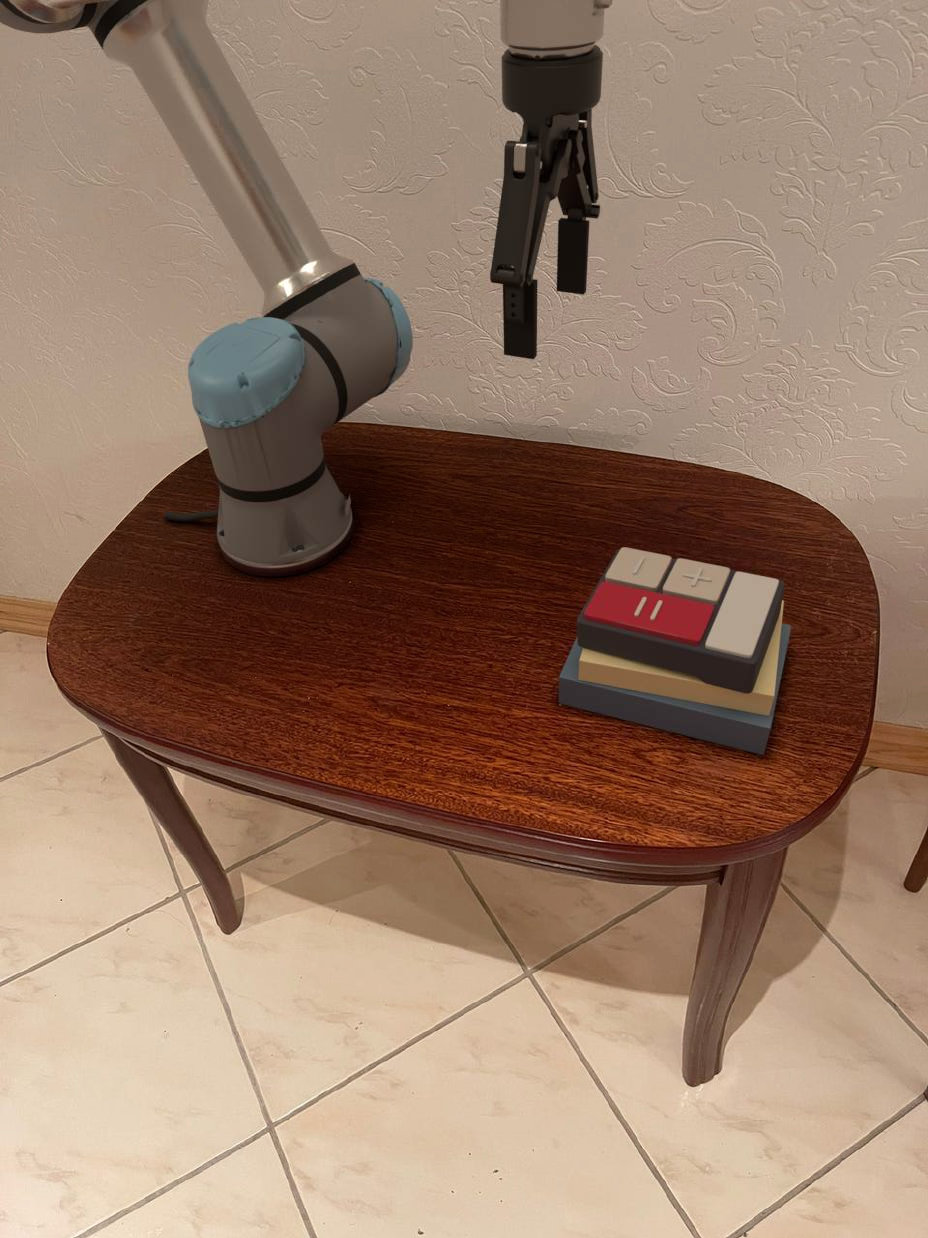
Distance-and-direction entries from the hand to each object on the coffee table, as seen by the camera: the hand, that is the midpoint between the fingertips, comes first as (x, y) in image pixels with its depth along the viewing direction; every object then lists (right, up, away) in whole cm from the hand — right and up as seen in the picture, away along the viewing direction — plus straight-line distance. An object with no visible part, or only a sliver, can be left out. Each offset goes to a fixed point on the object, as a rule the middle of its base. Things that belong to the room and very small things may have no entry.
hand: (547, 321), depth 80 cm
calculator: (+11, -28, -2) cm, 30 cm away
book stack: (+12, -32, +2) cm, 34 cm away
